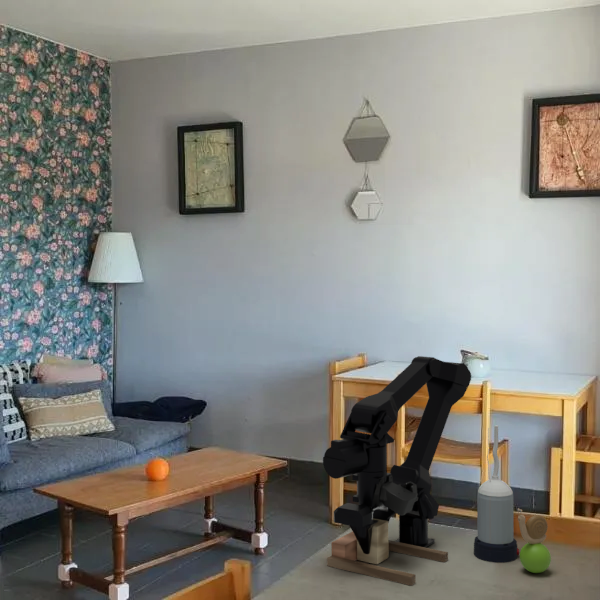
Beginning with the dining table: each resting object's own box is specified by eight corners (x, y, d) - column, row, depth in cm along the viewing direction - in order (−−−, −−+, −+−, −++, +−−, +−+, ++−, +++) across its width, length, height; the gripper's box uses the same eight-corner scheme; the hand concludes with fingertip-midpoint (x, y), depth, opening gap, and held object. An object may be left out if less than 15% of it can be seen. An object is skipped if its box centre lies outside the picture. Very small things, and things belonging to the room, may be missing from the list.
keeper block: (368, 553, 157) (368, 517, 156) (388, 557, 154) (388, 521, 154) (357, 559, 153) (356, 523, 153) (377, 564, 150) (376, 527, 150)
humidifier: (526, 558, 153) (526, 427, 152) (492, 565, 150) (492, 431, 149) (498, 545, 161) (498, 420, 160) (465, 552, 157) (464, 424, 156)
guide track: (367, 543, 163) (367, 523, 163) (447, 559, 153) (447, 539, 153) (327, 565, 150) (327, 544, 150) (411, 585, 140) (411, 563, 140)
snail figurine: (509, 570, 147) (508, 505, 147) (537, 564, 150) (537, 500, 149) (528, 580, 142) (528, 513, 142) (557, 574, 145) (557, 508, 144)
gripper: (385, 485, 141) (386, 574, 141) (432, 464, 156) (432, 543, 156) (331, 477, 147) (332, 561, 148) (381, 457, 162) (382, 533, 163)
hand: (372, 550), depth 153 cm, fingers closed on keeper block, 4 cm apart
